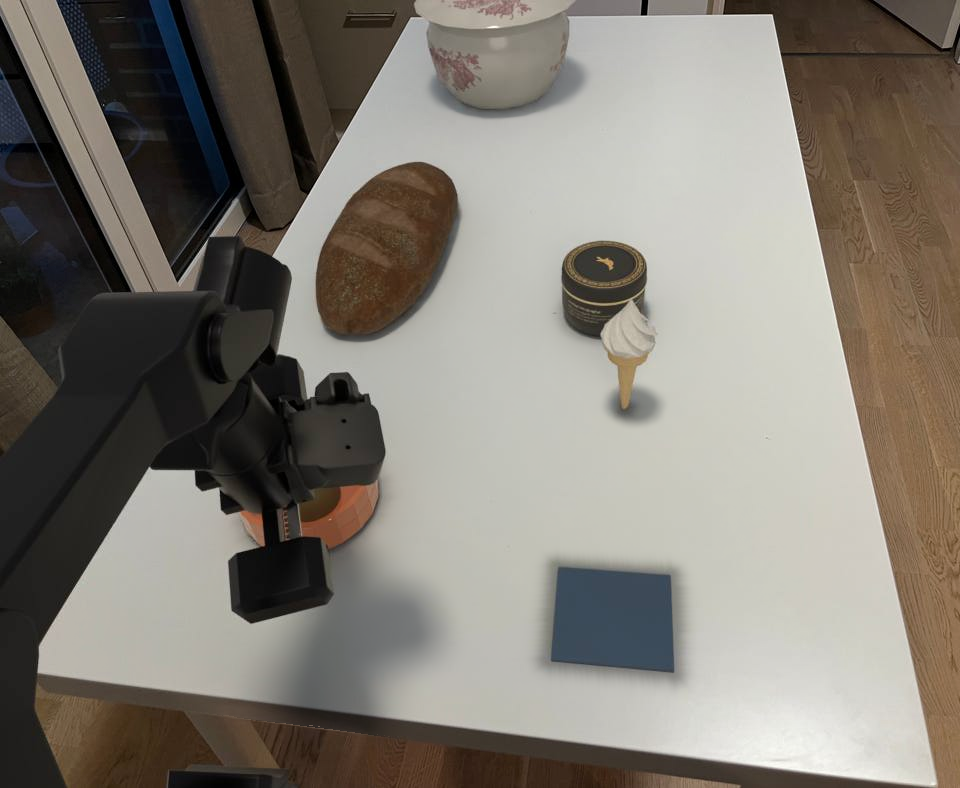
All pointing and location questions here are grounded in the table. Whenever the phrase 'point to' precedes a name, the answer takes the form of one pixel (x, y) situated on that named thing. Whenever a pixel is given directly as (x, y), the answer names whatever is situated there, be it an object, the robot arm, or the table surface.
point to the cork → (319, 504)
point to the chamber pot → (496, 48)
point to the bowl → (328, 517)
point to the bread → (384, 247)
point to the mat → (613, 619)
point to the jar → (601, 283)
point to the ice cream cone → (628, 345)
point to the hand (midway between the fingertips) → (304, 521)
